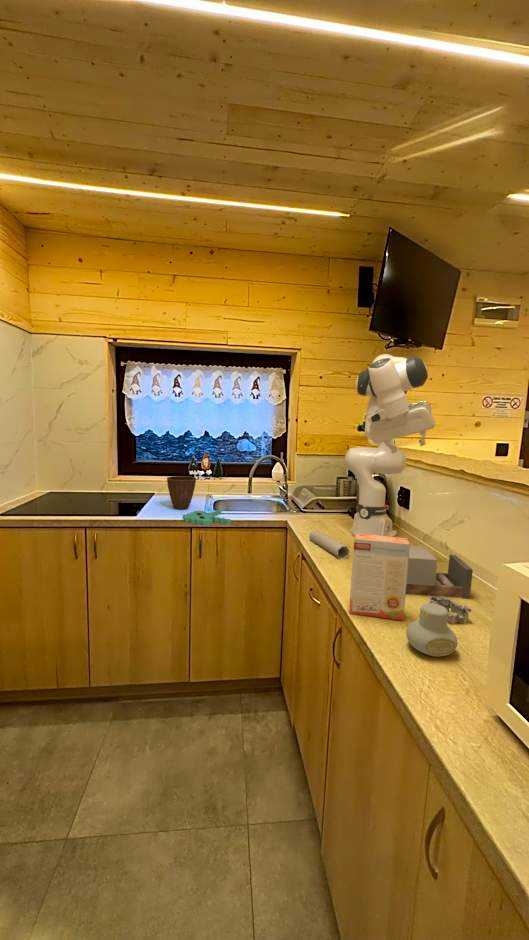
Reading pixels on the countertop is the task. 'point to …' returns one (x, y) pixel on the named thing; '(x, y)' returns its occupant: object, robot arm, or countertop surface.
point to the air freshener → (432, 631)
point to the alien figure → (205, 517)
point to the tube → (329, 544)
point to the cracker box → (379, 576)
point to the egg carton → (452, 609)
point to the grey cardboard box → (421, 566)
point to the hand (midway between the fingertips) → (408, 448)
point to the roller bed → (435, 589)
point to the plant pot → (181, 491)
